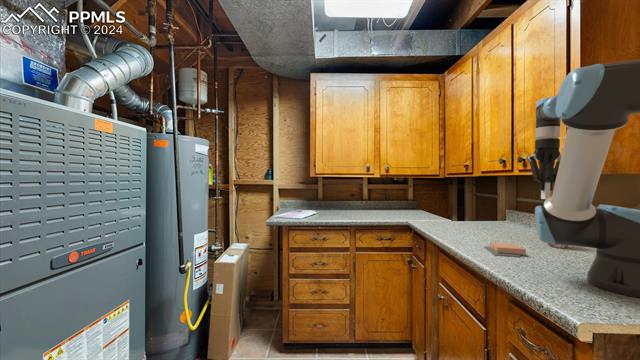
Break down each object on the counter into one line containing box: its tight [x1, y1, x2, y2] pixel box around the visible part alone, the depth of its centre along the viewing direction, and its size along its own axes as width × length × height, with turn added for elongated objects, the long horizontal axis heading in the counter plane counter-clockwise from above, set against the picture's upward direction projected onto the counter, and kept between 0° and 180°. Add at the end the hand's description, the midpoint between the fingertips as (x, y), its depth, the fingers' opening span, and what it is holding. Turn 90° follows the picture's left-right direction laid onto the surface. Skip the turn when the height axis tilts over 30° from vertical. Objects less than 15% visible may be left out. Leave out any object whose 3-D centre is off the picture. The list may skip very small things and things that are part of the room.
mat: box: [483, 246, 522, 258], centre depth 112 cm, size 12×9×1 cm
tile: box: [489, 241, 527, 256], centre depth 112 cm, size 8×2×10 cm
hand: (545, 199), depth 107 cm, fingers closed
